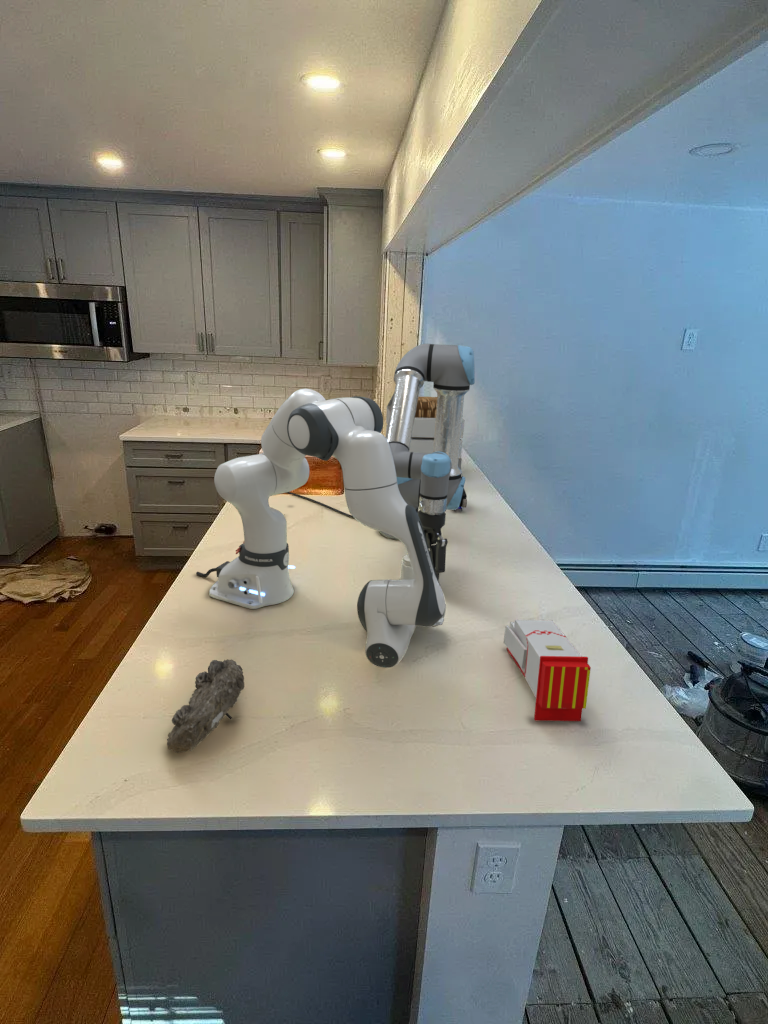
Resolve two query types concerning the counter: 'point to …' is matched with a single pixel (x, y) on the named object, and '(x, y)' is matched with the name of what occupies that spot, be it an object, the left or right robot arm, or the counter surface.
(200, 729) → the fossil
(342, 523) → the counter surface
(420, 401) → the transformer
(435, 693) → the counter surface
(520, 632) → the toy
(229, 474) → the left robot arm
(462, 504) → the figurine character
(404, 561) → the jar
